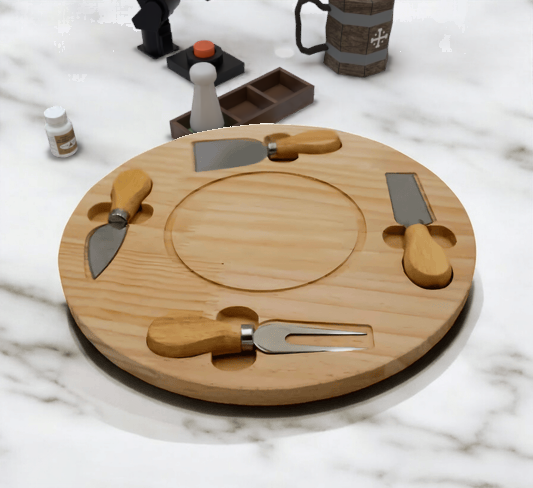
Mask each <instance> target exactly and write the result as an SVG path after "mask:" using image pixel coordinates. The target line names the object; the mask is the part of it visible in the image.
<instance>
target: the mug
mask: <svg viewBox="0 0 533 488" xmlns="http://www.w3.org/2000/svg"><path fill="white" fill-rule="evenodd" d="M395 1H396V0H327V3H323V2H322V1H321V0H297V2H296V5H295V7H294V20H295V21H294V22H295V24H294V25H295V29H294V30H295V36H294V37H295V46H297V49H298V51H299V52H300V54H304V55H306V56H312V55H315V54H317V53H322V52H324V55H323V60H322V64H324V65H325V66H326V67H327V68H329V69H330V70H331V71H333V72H334V73H335V74H336V75H340V76H348V77H355V78H356V77H357V78H363V79H364V78H367V77H370V76H373V75H376V74H379V73H381V72H385V71H386V68H387V64H388V59H389V44H390V37H391V33H392V28H393V24H394V8H395ZM307 3H311V4H314V5H315V6H316V7H317V8H318V9H319V10H320V11H322V12H327V14H326V21H325V26H324V29H325V32H324V33H325V42H323V43H319V44H315V45H312V46H310V47H306V46H304V45H303V43H302V27H303V25H302V18H301V11H302V8H303V5H305V4H307Z"/></svg>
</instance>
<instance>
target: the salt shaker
mask: <svg viewBox="0 0 533 488" xmlns="http://www.w3.org/2000/svg"><path fill="white" fill-rule="evenodd" d="M216 78H217V73H216V70H215V67H214V66H213V65H212V64H210V63H207V62H200V63H196V64H194V65H193V66H192V67H191V69H190V79H191V81H192V82H193V83H194V84H193V83H192V84H193V92H192V93H193V94H192V103H191V109H190V111H191V117H190V126H191V129H192V131H193V132H194V133H197V132H202V131H207V130H212V129H218V128H223V126H224V120H223V116H222V112H221V109H220V105H219V101H218V97H219V96H218V93H217V90H216V86H214V81H215V80H216Z"/></svg>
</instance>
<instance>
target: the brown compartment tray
mask: <svg viewBox="0 0 533 488" xmlns="http://www.w3.org/2000/svg"><path fill="white" fill-rule="evenodd" d="M315 87H316V86H315V85H314V84H312V83H310V82H308V81H306V80H305V79H303V78H301V77H299V76H297V75H296V74H294V73H292V72H290V71H289V70H287V69H285V68H283V67H281V66H278V67H275V68H273V69H272V70H270V71H268V72H266V73H264V74H262V75H260V76H258V77H256V78H254V79H252V80H250V81H248V82H246V83H244V84H242V85H240V86H237V87H235V88H233V89H231V90H230V91H227V92H226V93H225V92H224V93H223V94H222V95H219V96H217V97H218V101H219V105H220V109H221V112H222V116H223V120H224V126H223V127H230V126H231V127H232V126H240V125H249V124H260V123H275V124H277V123H278V122H280V121H282V120H284V119H286V118H288V117H289V116H291V115H293V114H295V113H296V112H299V111H300V110H302V109H304V108H306V107H307V106H309V105H311V104H313V103H314V102H315ZM190 117H191V110H188V111H187V112H184V113H183V114H180V115H179V116H176V117H174V118H172V119H170V120H169V128H170V138H171V139H173V140H174V139H177V138H179V137H182V136H185V135H189V134H193V133H194V132H193V131H192V129H191V126H190Z"/></svg>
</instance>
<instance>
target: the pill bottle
mask: <svg viewBox="0 0 533 488" xmlns="http://www.w3.org/2000/svg"><path fill="white" fill-rule="evenodd" d="M43 117H44V121H45V124H44V130H45V134H46V139H47V141H48V145H49V148H50V151H51V154H52V155H53V156H54V157H57V158H68V157H70V156H71V157H72V156H73V155H75V154H76V153H77V151H78V149H79V147H78V141H77V138H76V134H75V130H74V126H73V122H72V121H71V120H70V119H69V118H68V115H67V111H66V109H65V108H64V107H63V106H60V105H54V106H50V107H48V108H46V109H45V110H44V111H43Z"/></svg>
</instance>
